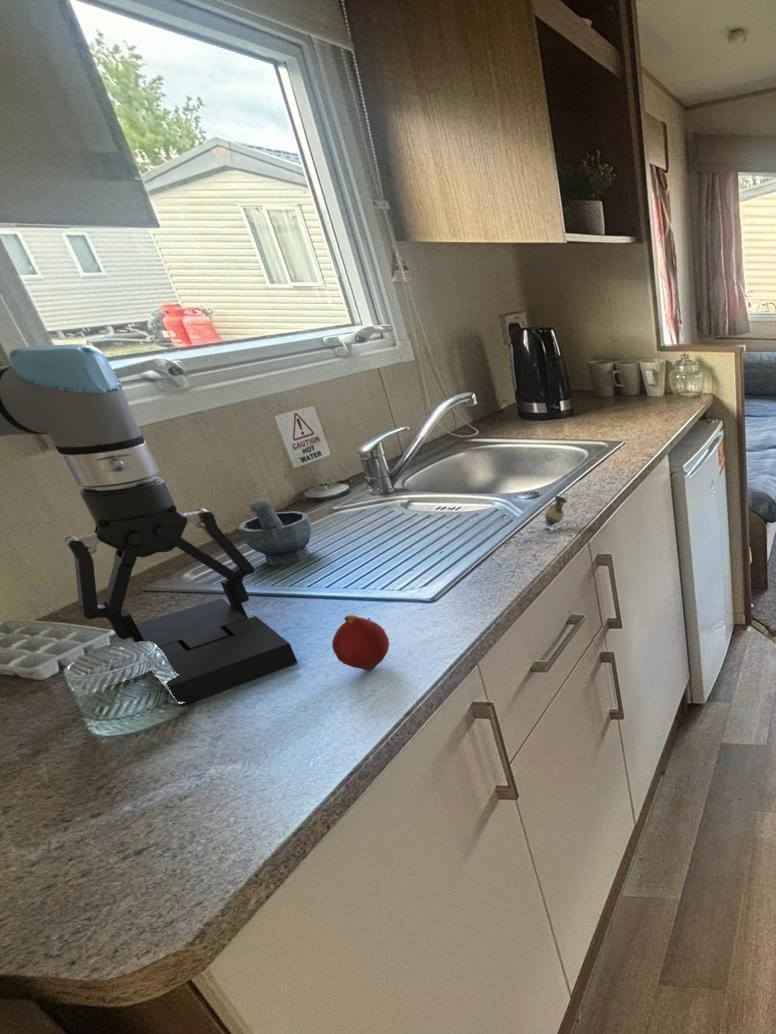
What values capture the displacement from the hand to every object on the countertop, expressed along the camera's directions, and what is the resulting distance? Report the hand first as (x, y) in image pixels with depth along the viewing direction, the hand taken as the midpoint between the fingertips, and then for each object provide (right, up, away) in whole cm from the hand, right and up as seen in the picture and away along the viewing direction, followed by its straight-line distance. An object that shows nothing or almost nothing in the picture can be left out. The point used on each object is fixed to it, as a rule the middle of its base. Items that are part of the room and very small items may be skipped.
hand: (198, 639), depth 90 cm
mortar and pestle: (-7, +12, +25) cm, 28 cm away
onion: (+28, -4, -6) cm, 28 cm away
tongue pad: (+1, -1, -1) cm, 2 cm away
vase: (+35, +20, +39) cm, 56 cm away
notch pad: (+9, -3, -6) cm, 11 cm away
